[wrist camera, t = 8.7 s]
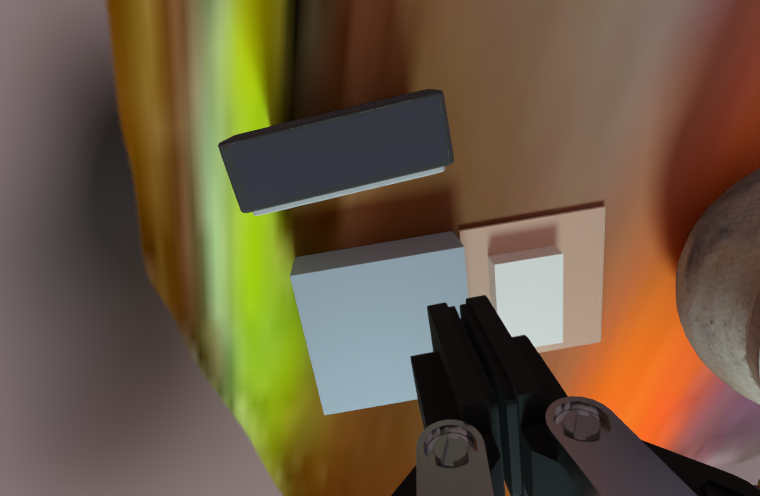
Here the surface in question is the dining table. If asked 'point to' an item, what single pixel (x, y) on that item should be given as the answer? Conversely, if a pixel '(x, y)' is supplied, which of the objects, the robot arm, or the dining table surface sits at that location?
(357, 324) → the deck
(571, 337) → the mat
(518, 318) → the tile
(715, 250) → the ceramic bowl
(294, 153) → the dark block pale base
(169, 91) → the dining table surface
